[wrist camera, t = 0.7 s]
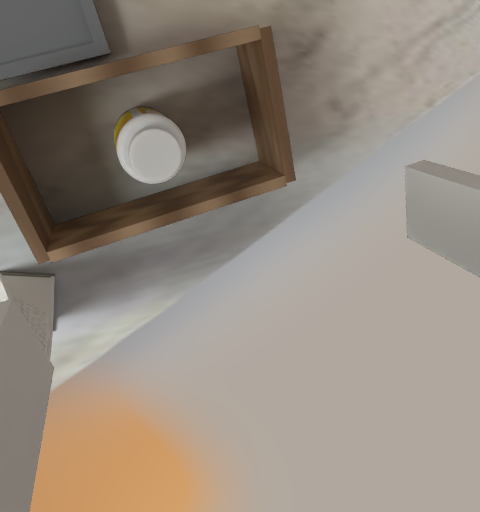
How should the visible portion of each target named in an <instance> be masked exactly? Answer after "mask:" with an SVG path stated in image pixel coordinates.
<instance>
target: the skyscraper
mask: <svg viewBox="0 0 480 512" xmlns="http://www.w3.org/2000/svg"><path fill="white" fill-rule="evenodd" d="M54 276H55V274H35V273H14V272H0V302H3V301H6V300H9V299H12V298H13V299H14V301H15V303H16V304H17V306H18V308H19V309H20V311H21V313H22V314H23V316H24V318H25V319H26V321H27V323H28V325H29V326H30V328H31V330H32V331H33V333H34V335H35V336H36V338H37V340H38V341H39V343H40V345H41V346H42V348H43V350H44V351H45V353H46V355H47V356H48V358H49V360H50V355H51V346H52V335H53V318H54V286H55V278H54Z"/></svg>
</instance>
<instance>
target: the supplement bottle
mask: <svg viewBox="0 0 480 512" xmlns="http://www.w3.org/2000/svg"><path fill="white" fill-rule="evenodd" d="M114 143H115V147H116V151H117V156H118V159H119V161H120V163H121V165H122V167H123V168H124V170H125V171H126V172H127V173H128V174H129V175H130V176H131V177H133V178H134V179H136V180H138V181H140V182H144V183H148V184H157V183H162V182H165V181H168V180H169V179H171V178H173V177H174V176H175V175H176V174H177V173H178V172H179V171H180V169H181V168H182V166H183V164H184V161H185V158H186V142H185V139H184V136H183V134H182V132H181V130H180V129H179V128H178V127H177V125H176V124H175V123H174V122H172V121H171V120H170V119H169V118H167V117H165V116H164V115H162V114H161V113H159V112H158V111H156V110H154V109H151V108H148V107H136V108H132V109H130V110H128V111H126V112H125V113H123V114H122V115H121V116H120V118H119V119H118V121H117V122H116V125H115V128H114Z"/></svg>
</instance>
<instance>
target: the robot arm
mask: <svg viewBox="0 0 480 512" xmlns="http://www.w3.org/2000/svg"><path fill="white" fill-rule="evenodd" d="M405 182H406V183H405V184H406V217H407V237H408V238H409V239H411V240H413V241H415V242H417V243H418V244H420V245H422V246H424V247H426V248H427V249H429V250H431V251H433V252H435V253H437V254H438V255H440V256H442V257H444V258H445V259H447V260H449V261H451V262H453V263H455V264H456V265H458V266H460V267H462V268H464V269H465V270H467V271H469V272H471V273H473V274H474V275H476V276H478V277H480V176H479V175H476V174H472V173H468V172H465V171H461V170H458V169H454V168H450V167H447V166H444V165H440V164H436V163H433V162H429V161H425V160H423V161H420V162H417V163H414V164H411V165H408V166H405ZM53 370H54V367H53V365H52V363H51V362H50V360H49V358H48V356H47V355H46V353H45V351H44V350H43V348H42V346H41V345H40V343H39V341H38V340H37V338H36V336H35V335H34V333H33V331H32V330H31V328H30V326H29V325H28V323H27V321H26V319H25V318H24V316H23V314H22V313H21V311H20V309H19V308H18V306H17V304H16V303H15V301H14V299H13V298H12V299H9V300H6V301H3V302H0V512H29V511H30V505H31V499H32V493H33V488H34V482H35V476H36V470H37V464H38V458H39V453H40V447H41V441H42V434H43V429H44V423H45V417H46V411H47V405H48V400H49V394H50V388H51V382H52V376H53Z"/></svg>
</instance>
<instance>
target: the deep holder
mask: <svg viewBox="0 0 480 512" xmlns="http://www.w3.org/2000/svg"><path fill="white" fill-rule="evenodd" d="M233 46H236V47H237V52H238V57H239V62H240V67H241V72H242V77H243V82H244V87H245V92H246V97H247V102H248V107H249V112H250V117H251V122H252V127H253V132H254V137H255V142H256V147H257V152H258V157H259V161H258V162H255V163H252V164H249V165H245V166H242V167H239V168H236V169H233V170H229V171H226V172H223V173H220V174H217V175H213V176H210V177H207V178H204V179H201V180H197V181H194V182H191V183H188V184H185V185H181V186H178V187H175V188H172V189H169V190H165V191H162V192H159V193H156V194H153V195H149V196H146V197H143V198H140V199H137V200H133V201H130V202H127V203H124V204H121V205H117V206H114V207H111V208H108V209H105V210H101V211H98V212H95V213H92V214H89V215H85V216H82V217H79V218H76V219H73V220H69V221H66V222H63V223H60V224H57V225H55V224H54V222H53V220H52V218H51V216H50V214H49V212H48V210H47V208H46V206H45V204H44V201H43V199H42V197H41V195H40V193H39V191H38V189H37V187H36V185H35V183H34V181H33V179H32V177H31V175H30V172H29V170H28V168H27V166H26V164H25V162H24V160H23V158H22V156H21V154H20V152H19V150H18V148H17V145H16V143H15V141H14V139H13V137H12V135H11V133H10V131H9V129H8V127H7V125H6V123H5V121H4V119H3V116H2V114H1V112H0V192H1V194H2V196H3V198H4V200H5V202H6V203H7V205H8V207H9V209H10V211H11V213H12V215H13V217H14V219H15V220H16V222H17V224H18V226H19V228H20V230H21V232H22V234H23V236H24V237H25V239H26V241H27V243H28V245H29V247H30V249H31V251H32V253H33V254H34V256H35V258H36V260H37V262H38V264H40V263H44V262H47V261H50V260H51V262H56V261H59V260H62V259H65V258H68V257H71V256H74V255H77V254H80V253H83V252H86V251H89V250H92V249H95V248H98V247H101V246H104V245H107V244H110V243H113V242H117V241H120V240H123V239H126V238H129V237H132V236H135V235H138V234H141V233H144V232H147V231H150V230H153V229H156V228H159V227H162V226H165V225H168V224H171V223H175V222H178V221H181V220H184V219H187V218H190V217H193V216H196V215H199V214H202V213H205V212H208V211H211V210H214V209H217V208H220V207H223V206H226V205H229V204H232V203H236V202H239V201H242V200H245V199H248V198H251V197H254V196H257V195H260V194H263V193H266V192H269V191H272V190H275V189H278V188H281V187H284V186H287V185H286V183H289V182H292V181H295V180H296V178H295V172H294V166H293V159H292V153H291V147H290V141H289V135H288V129H287V122H286V116H285V110H284V104H283V98H282V91H281V85H280V79H279V73H278V67H277V60H276V54H275V48H274V42H273V36H272V30H271V26H268V27H264V28H260V29H259V25H258V26H254V27H250V28H246V29H242V30H238V31H234V32H230V33H226V34H222V35H218V36H214V37H210V38H206V39H202V40H198V41H194V42H190V43H186V44H182V45H178V46H174V47H170V48H166V49H162V50H158V51H154V52H150V53H146V54H142V55H138V56H134V57H130V58H126V59H122V60H118V61H114V62H110V63H106V64H102V65H98V66H94V67H90V68H86V69H82V70H78V71H74V72H70V73H66V74H62V75H58V76H54V77H50V78H46V79H42V80H38V81H34V82H30V83H26V84H22V85H18V86H14V87H10V88H6V89H2V90H0V106H4V105H8V104H12V103H15V102H19V101H23V100H27V99H31V98H35V97H39V96H43V95H47V94H50V93H54V92H58V91H62V90H66V89H70V88H74V87H78V86H81V85H85V84H89V83H93V82H97V81H101V80H105V79H109V78H113V77H116V76H120V75H124V74H128V73H132V72H136V71H140V70H144V69H148V68H151V67H155V66H159V65H163V64H167V63H171V62H175V61H179V60H182V59H186V58H190V57H194V56H198V55H202V54H206V53H210V52H214V51H217V50H221V49H225V48H229V47H233Z"/></svg>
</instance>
